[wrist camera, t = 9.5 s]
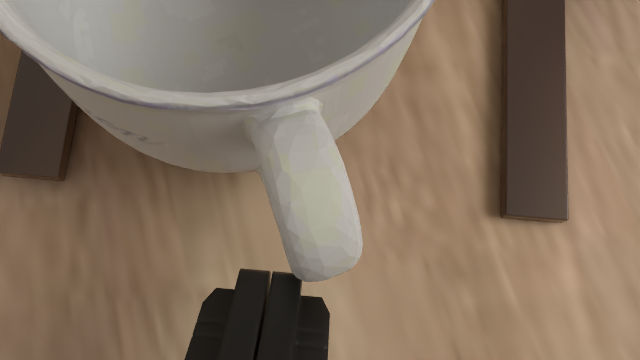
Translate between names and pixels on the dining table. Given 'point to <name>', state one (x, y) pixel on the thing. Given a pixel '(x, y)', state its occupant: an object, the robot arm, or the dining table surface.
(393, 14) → the teacup
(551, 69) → the walnut frame
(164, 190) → the dining table surface
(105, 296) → the dining table surface
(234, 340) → the robot arm
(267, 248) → the dining table surface
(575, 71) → the dining table surface
